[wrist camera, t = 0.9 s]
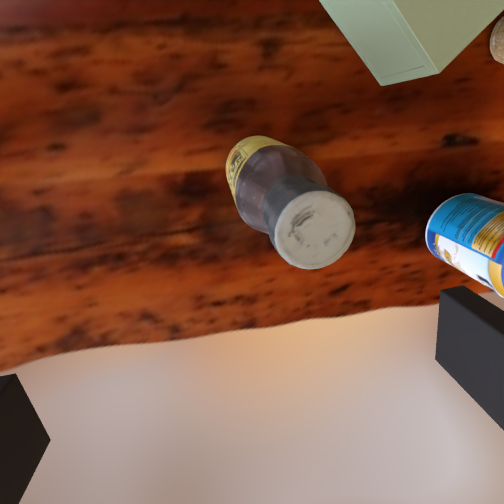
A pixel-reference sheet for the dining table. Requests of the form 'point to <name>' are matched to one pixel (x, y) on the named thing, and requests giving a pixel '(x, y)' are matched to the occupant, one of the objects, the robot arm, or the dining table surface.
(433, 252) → the beverage bottle
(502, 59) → the spice jar
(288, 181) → the sauce bottle
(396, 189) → the dining table surface
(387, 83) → the cabinet
